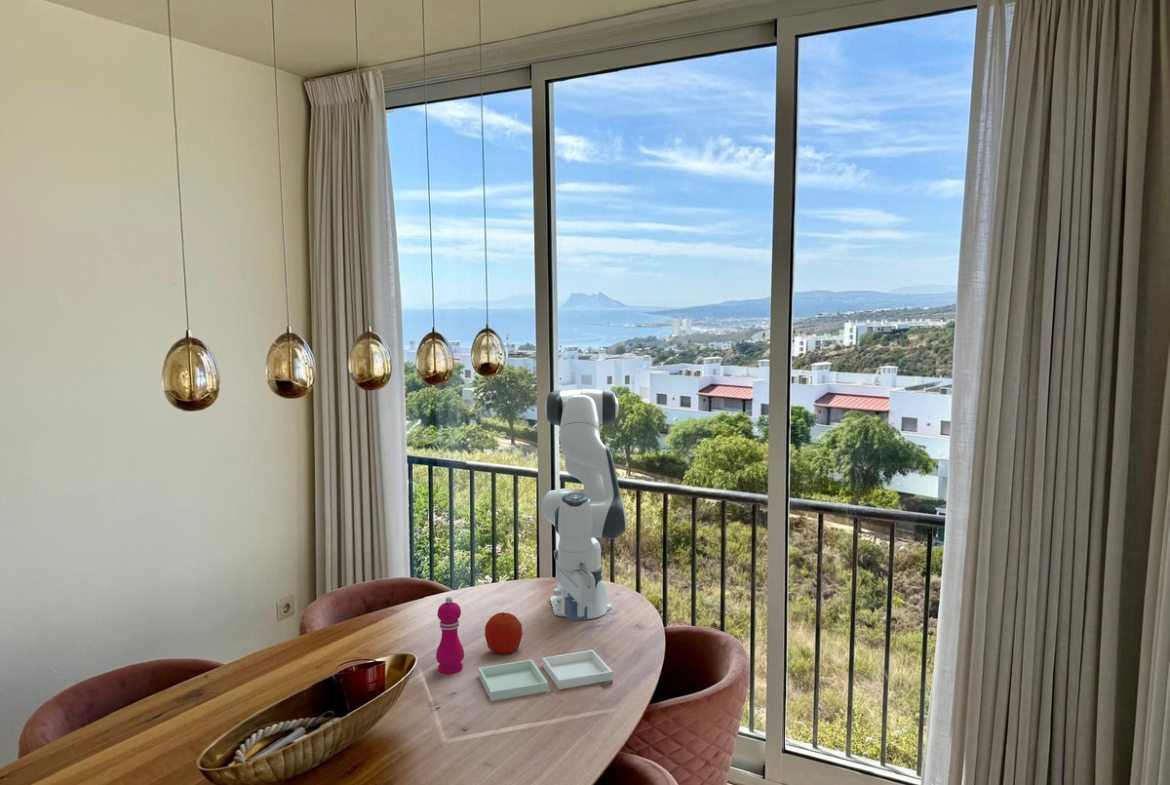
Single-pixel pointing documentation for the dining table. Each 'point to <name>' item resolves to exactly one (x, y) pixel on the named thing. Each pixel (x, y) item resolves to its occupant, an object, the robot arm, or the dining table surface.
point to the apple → (503, 633)
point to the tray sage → (512, 680)
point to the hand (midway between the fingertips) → (576, 611)
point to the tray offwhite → (577, 669)
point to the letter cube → (573, 609)
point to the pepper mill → (449, 639)
